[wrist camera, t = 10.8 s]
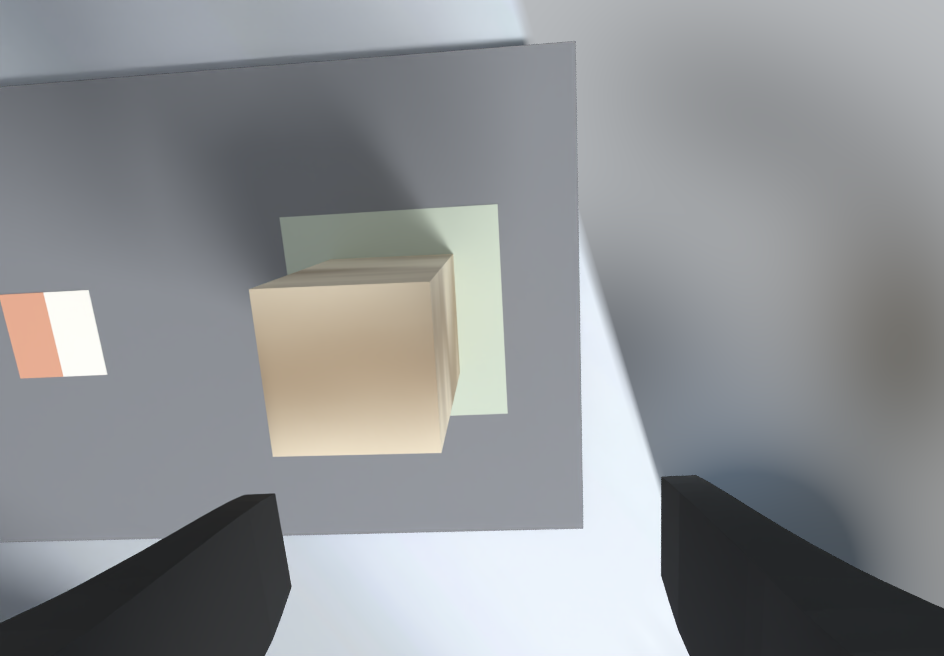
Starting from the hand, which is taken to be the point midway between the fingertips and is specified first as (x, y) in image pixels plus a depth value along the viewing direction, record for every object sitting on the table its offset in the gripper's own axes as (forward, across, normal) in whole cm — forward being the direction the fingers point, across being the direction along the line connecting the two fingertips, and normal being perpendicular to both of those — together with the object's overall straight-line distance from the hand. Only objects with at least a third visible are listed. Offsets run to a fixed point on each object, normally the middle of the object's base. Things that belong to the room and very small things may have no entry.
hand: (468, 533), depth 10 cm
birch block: (+9, +3, -2) cm, 9 cm away
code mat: (+9, +9, -2) cm, 13 cm away
